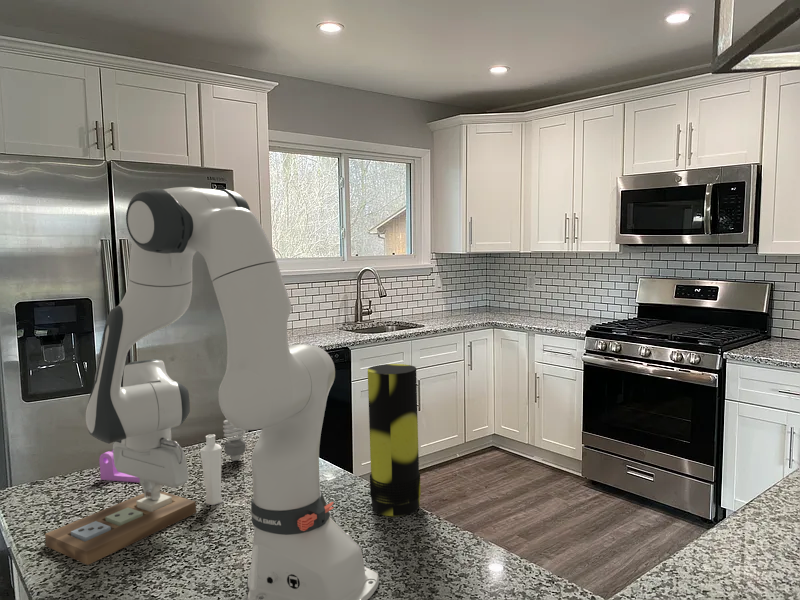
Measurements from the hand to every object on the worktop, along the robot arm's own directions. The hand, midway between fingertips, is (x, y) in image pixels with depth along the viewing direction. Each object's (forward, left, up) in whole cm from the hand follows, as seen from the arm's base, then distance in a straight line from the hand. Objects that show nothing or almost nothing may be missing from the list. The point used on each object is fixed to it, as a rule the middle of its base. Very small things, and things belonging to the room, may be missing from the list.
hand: (152, 498), depth 127 cm
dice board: (0, +7, -4) cm, 8 cm away
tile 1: (0, 0, -3) cm, 3 cm away
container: (-43, -28, -4) cm, 52 cm away
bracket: (+24, -11, -4) cm, 27 cm away
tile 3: (0, +14, -3) cm, 14 cm away
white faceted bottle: (-6, -11, -4) cm, 13 cm away
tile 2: (0, +7, -3) cm, 8 cm away
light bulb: (+9, -31, -4) cm, 33 cm away
